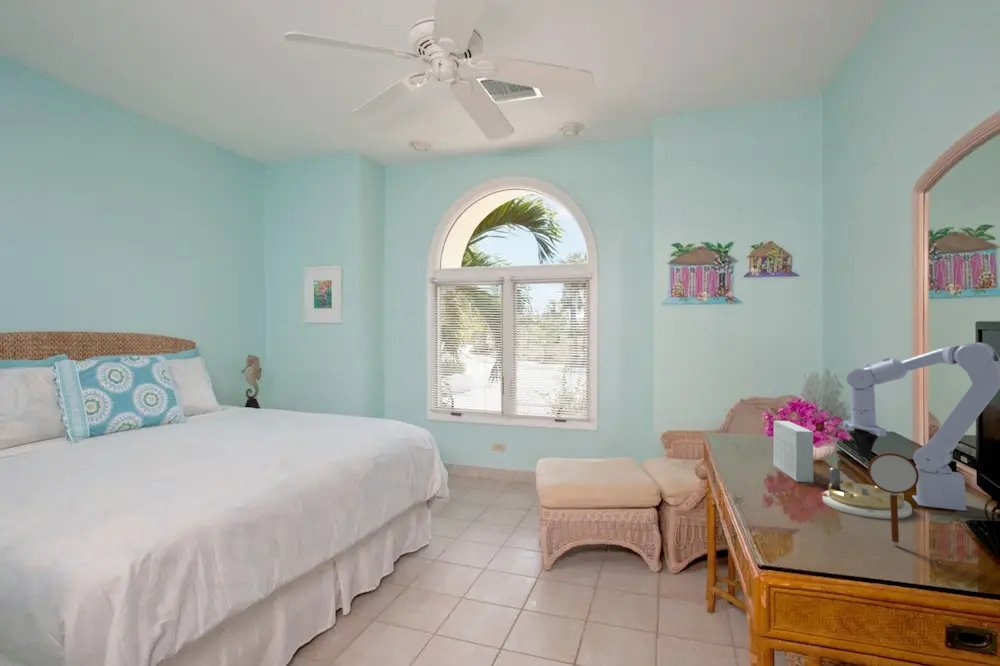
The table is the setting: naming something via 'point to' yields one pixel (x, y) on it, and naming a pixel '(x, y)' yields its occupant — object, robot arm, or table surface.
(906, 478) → the magnifying glass
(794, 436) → the skincare box
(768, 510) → the table surface
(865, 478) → the table surface
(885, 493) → the brass round mechanism
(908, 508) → the disc
